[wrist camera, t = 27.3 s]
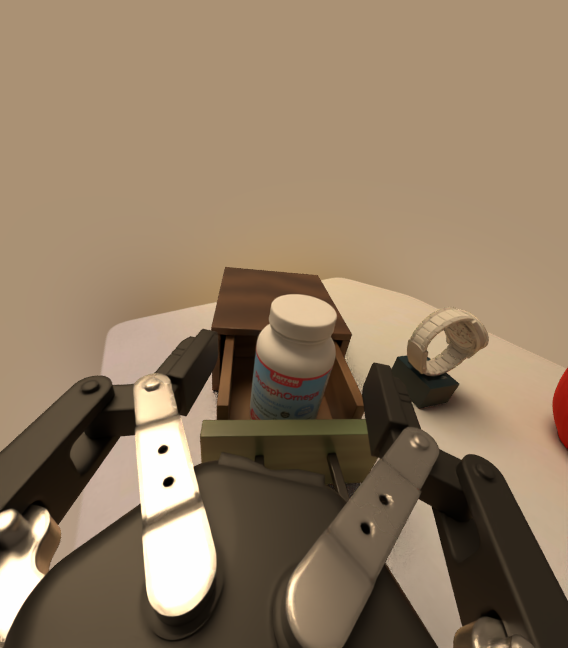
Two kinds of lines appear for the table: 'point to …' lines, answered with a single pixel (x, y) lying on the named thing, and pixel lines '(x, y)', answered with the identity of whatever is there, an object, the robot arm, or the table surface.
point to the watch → (430, 374)
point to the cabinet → (262, 305)
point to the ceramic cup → (561, 408)
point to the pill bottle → (293, 359)
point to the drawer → (290, 424)
